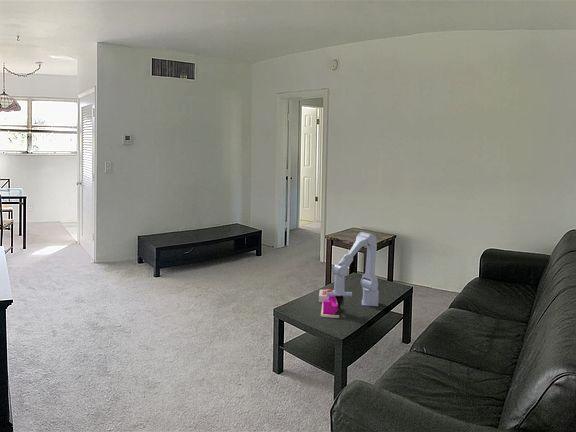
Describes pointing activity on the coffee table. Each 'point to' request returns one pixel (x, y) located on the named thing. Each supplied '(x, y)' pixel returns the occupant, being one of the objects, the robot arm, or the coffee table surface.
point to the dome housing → (323, 296)
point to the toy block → (330, 306)
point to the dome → (327, 291)
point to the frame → (328, 315)
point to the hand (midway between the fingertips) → (338, 308)
